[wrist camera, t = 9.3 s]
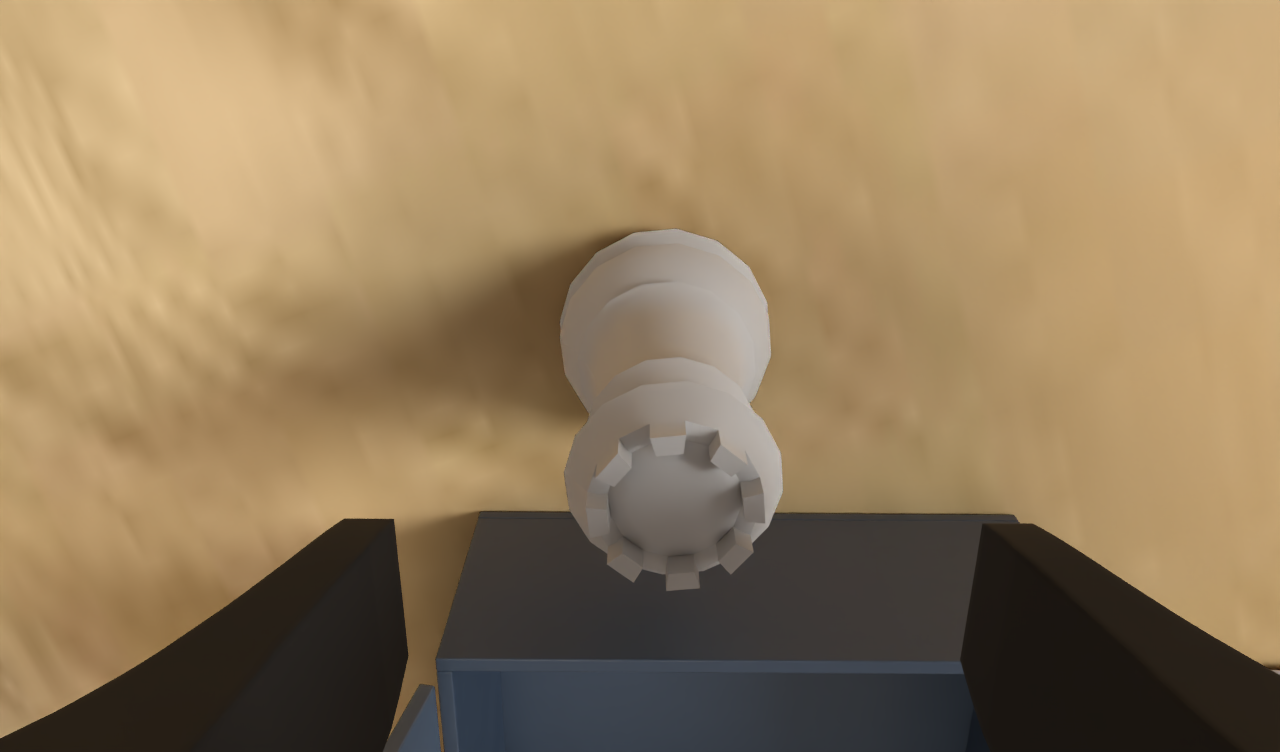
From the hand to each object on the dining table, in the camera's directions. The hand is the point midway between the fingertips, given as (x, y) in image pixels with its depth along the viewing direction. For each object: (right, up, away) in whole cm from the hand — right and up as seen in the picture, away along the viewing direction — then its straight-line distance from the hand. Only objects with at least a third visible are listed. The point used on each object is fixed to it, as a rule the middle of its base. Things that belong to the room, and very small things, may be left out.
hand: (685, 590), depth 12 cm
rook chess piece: (0, +4, +9) cm, 10 cm away
